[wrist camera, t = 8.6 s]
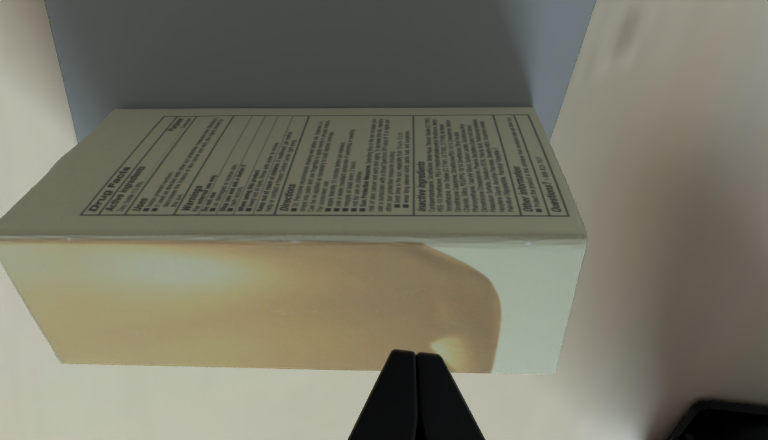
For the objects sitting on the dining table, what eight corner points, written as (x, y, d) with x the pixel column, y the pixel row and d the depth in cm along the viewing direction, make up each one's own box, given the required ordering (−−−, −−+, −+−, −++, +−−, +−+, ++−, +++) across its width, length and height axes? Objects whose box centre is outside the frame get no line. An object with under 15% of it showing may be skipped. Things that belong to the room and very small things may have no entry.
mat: (645, -178, 12) (655, -178, 12) (482, 324, 22) (484, 336, 21) (-4, -275, 12) (-21, -278, 11) (120, 282, 21) (113, 293, 21)
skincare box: (523, 226, 18) (157, 220, 19) (541, 100, 15) (117, 99, 16) (559, 392, 13) (53, 373, 14) (597, 244, 10) (-29, 231, 11)
